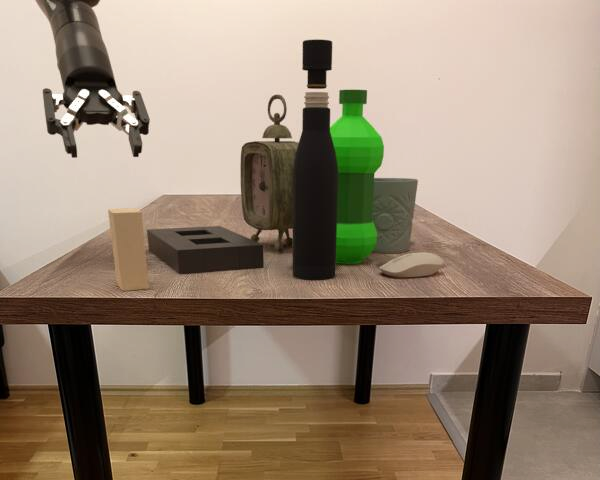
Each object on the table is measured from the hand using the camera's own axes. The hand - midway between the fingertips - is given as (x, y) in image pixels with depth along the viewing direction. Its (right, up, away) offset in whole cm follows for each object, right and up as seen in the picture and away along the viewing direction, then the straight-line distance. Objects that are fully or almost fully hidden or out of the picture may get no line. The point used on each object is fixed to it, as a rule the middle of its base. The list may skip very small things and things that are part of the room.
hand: (106, 153), depth 90 cm
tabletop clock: (+24, -5, +28) cm, 37 cm away
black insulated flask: (+30, -16, +5) cm, 34 cm away
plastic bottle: (+35, -11, +16) cm, 40 cm away
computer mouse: (+44, -15, +7) cm, 48 cm away
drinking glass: (+43, -6, +27) cm, 51 cm away
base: (+11, -10, +18) cm, 23 cm away
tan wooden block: (+4, -19, -2) cm, 20 cm away
